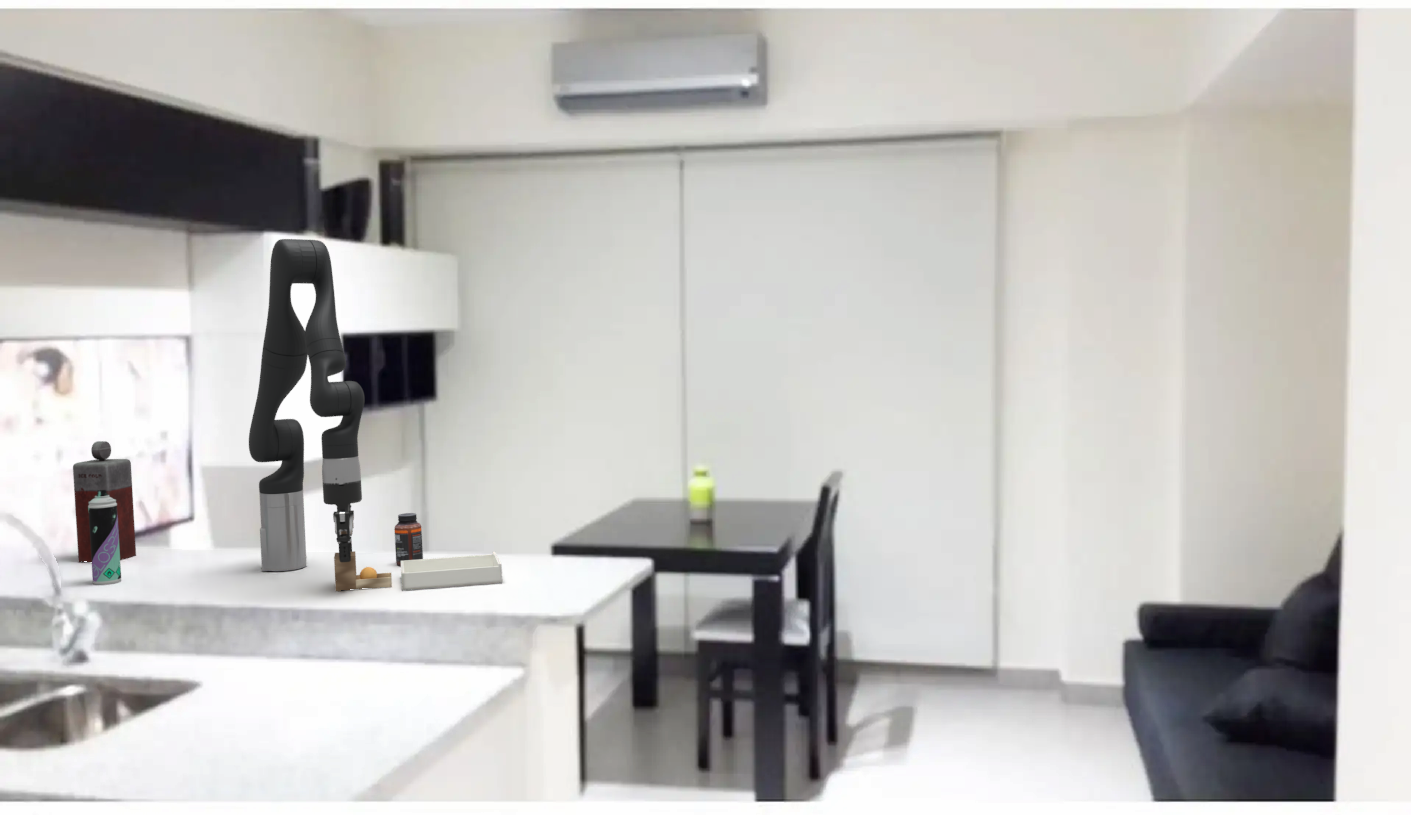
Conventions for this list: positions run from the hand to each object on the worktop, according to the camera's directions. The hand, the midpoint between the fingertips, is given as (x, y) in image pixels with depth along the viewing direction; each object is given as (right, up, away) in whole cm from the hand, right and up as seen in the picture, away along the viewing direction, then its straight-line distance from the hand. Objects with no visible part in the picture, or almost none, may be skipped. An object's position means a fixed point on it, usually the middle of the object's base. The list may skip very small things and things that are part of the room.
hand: (346, 558), depth 245 cm
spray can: (-55, -7, +12) cm, 57 cm away
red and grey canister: (-69, -5, +39) cm, 80 cm away
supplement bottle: (+7, -5, +24) cm, 26 cm away
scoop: (+3, -6, +2) cm, 7 cm away
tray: (+20, -5, +6) cm, 22 cm away
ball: (+4, -4, +2) cm, 6 cm away
